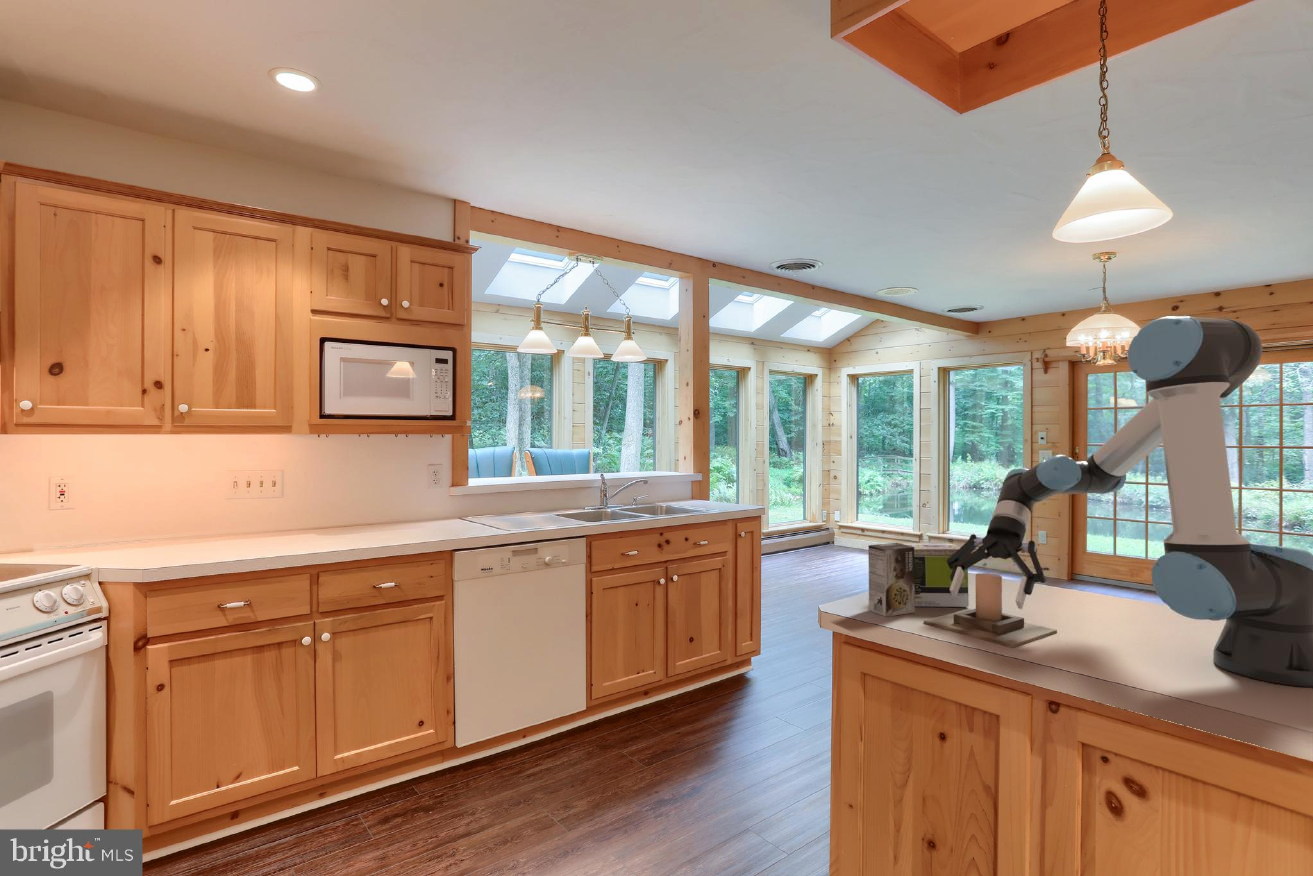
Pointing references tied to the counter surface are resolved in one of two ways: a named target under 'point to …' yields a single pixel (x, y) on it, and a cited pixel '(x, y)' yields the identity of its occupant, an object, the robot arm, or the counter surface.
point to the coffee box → (891, 579)
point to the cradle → (991, 628)
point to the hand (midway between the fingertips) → (984, 599)
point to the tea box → (936, 576)
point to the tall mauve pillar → (989, 597)
